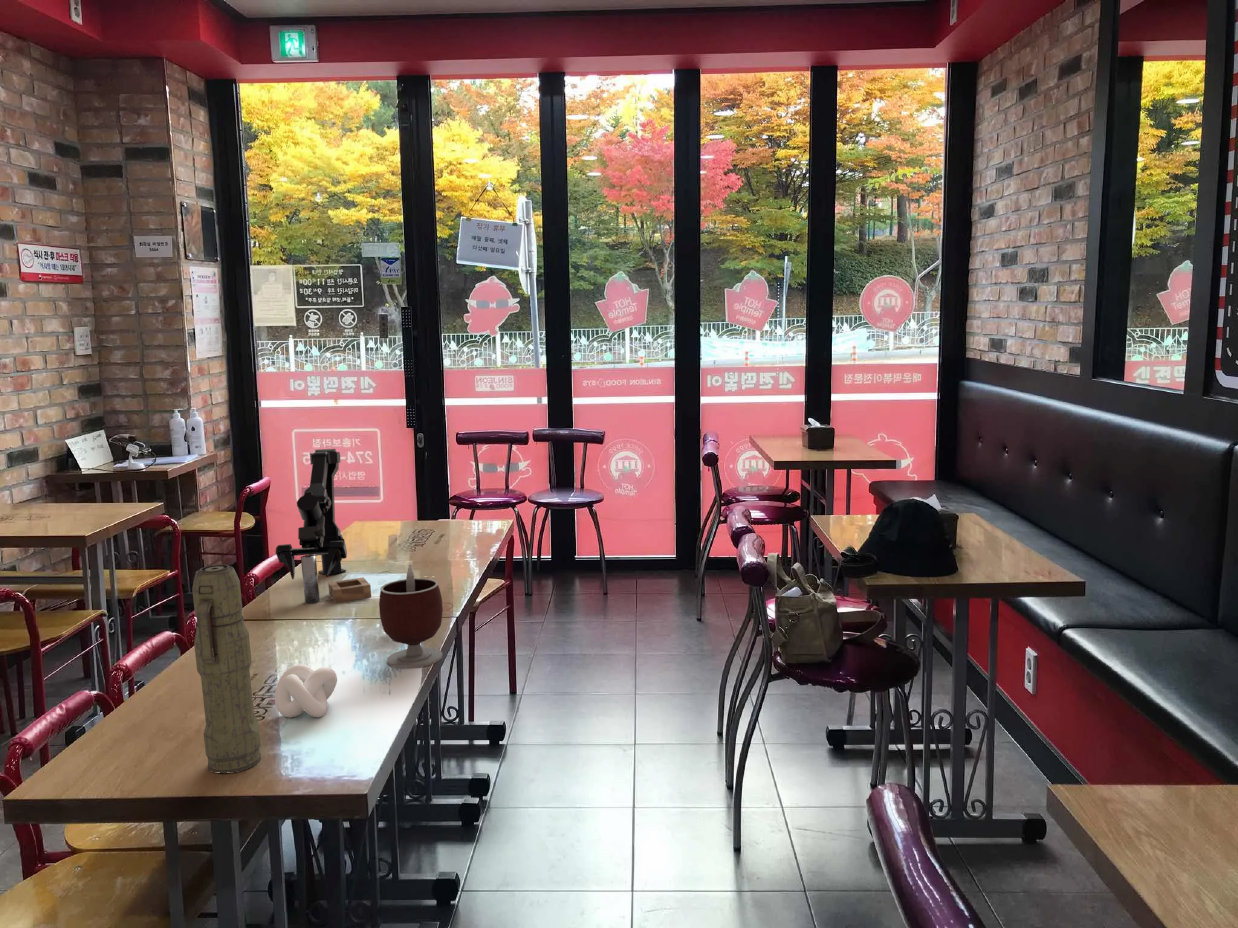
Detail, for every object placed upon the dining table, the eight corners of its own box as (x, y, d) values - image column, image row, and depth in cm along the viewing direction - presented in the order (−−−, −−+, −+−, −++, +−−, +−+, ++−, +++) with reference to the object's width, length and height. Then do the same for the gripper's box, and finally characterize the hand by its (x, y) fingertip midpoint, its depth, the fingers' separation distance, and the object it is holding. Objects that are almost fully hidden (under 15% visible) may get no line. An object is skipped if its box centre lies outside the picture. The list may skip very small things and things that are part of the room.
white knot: (340, 720, 187) (336, 675, 186) (274, 730, 184) (269, 684, 182) (339, 699, 198) (335, 657, 196) (277, 708, 194) (273, 665, 193)
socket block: (329, 594, 280) (328, 582, 279) (364, 588, 284) (363, 577, 283) (335, 602, 271) (334, 590, 270) (371, 596, 275) (370, 584, 274)
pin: (302, 601, 273) (298, 556, 271) (315, 598, 275) (311, 554, 274) (309, 604, 270) (304, 558, 268) (322, 601, 273) (318, 556, 271)
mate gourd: (445, 665, 215) (439, 578, 212) (381, 672, 213) (374, 583, 210) (446, 644, 230) (440, 561, 227) (386, 649, 228) (379, 566, 225)
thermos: (196, 780, 164) (174, 578, 159) (220, 750, 175) (199, 561, 170) (250, 776, 164) (229, 575, 159) (270, 746, 176) (251, 558, 171)
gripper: (273, 517, 273) (268, 564, 263) (341, 512, 275) (338, 559, 266) (282, 538, 282) (277, 585, 272) (348, 534, 284) (345, 580, 274)
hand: (309, 577), depth 271 cm, fingers open, 9 cm apart
